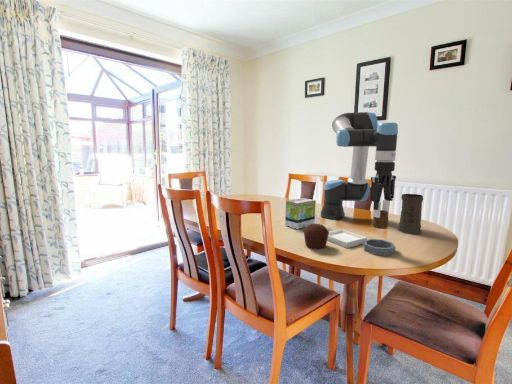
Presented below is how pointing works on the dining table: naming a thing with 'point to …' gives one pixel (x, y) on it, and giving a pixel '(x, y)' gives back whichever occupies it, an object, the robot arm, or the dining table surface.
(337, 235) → the tray
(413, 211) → the beer stein
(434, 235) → the dining table surface
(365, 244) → the grey octagonal ring
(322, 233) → the muffin
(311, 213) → the tea box
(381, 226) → the utensil holder
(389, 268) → the dining table surface
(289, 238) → the dining table surface
